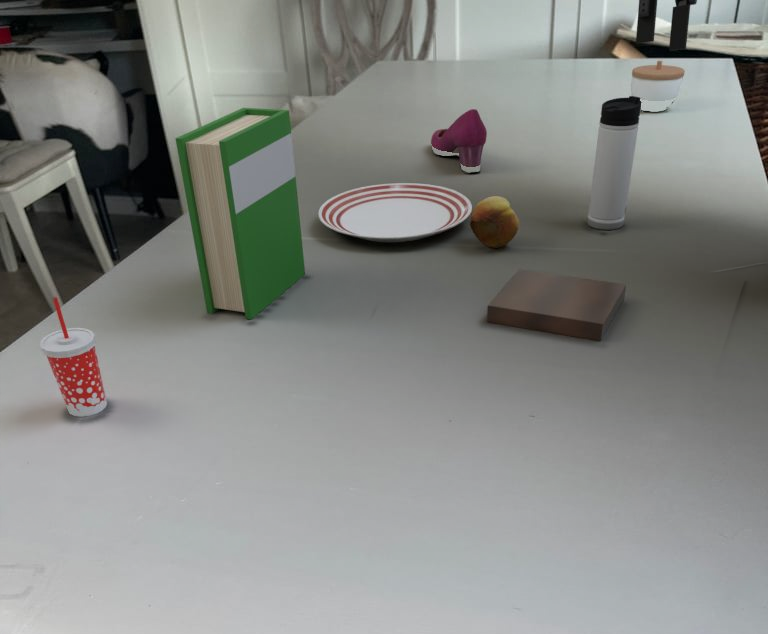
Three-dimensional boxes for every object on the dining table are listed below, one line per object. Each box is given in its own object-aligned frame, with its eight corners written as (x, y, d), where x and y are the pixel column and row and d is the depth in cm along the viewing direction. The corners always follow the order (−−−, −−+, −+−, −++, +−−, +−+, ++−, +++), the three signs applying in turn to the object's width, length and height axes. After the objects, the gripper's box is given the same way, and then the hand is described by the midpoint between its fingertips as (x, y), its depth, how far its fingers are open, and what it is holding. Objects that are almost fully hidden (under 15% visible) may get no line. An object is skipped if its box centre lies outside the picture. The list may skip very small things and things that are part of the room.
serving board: (623, 300, 117) (626, 284, 116) (600, 341, 107) (603, 323, 106) (518, 284, 123) (519, 268, 121) (486, 322, 113) (487, 305, 111)
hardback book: (251, 319, 116) (225, 141, 101) (207, 313, 119) (175, 138, 104) (305, 274, 129) (288, 110, 114) (264, 268, 131) (243, 107, 116)
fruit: (512, 256, 132) (516, 206, 127) (463, 252, 134) (464, 202, 129) (521, 240, 137) (525, 192, 133) (474, 236, 140) (476, 188, 135)
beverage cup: (114, 414, 97) (83, 304, 88) (60, 423, 95) (24, 313, 87) (112, 390, 101) (83, 283, 93) (62, 399, 100) (27, 291, 91)
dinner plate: (446, 259, 132) (446, 239, 130) (294, 244, 140) (292, 224, 138) (488, 206, 152) (489, 188, 150) (353, 195, 160) (352, 178, 158)
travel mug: (632, 224, 142) (652, 99, 129) (605, 232, 139) (623, 105, 126) (606, 215, 146) (622, 93, 133) (579, 223, 143) (594, 99, 131)
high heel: (454, 143, 188) (455, 84, 181) (500, 171, 169) (504, 107, 161) (419, 147, 186) (419, 88, 179) (462, 177, 167) (464, 112, 159)
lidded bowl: (620, 105, 212) (626, 58, 205) (666, 102, 213) (674, 55, 206) (637, 116, 202) (644, 67, 195) (685, 113, 203) (694, 64, 196)
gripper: (682, -87, 137) (669, 55, 146) (618, -122, 120) (607, 41, 128) (727, -97, 133) (711, 50, 141) (667, -135, 115) (652, 35, 124)
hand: (661, 46), depth 135 cm, fingers open, 13 cm apart
